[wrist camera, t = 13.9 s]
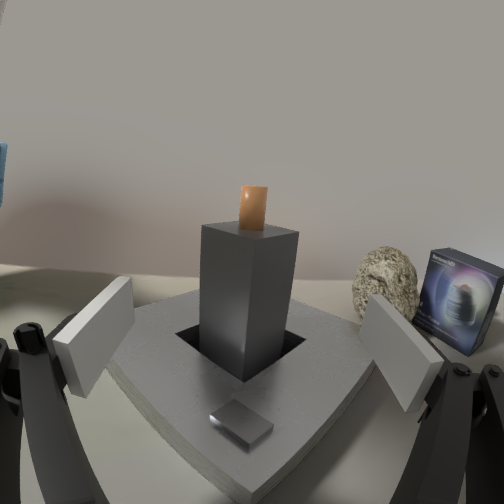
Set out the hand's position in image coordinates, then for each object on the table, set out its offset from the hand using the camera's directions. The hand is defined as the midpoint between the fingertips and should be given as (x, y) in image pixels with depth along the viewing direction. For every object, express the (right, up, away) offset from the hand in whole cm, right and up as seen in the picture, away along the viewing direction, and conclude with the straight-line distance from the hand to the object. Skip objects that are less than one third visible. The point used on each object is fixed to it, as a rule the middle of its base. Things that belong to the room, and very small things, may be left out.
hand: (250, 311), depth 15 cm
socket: (-1, -7, +9) cm, 12 cm away
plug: (-1, -7, +9) cm, 11 cm away
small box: (+26, -8, +15) cm, 31 cm away
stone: (+15, -6, +17) cm, 24 cm away
